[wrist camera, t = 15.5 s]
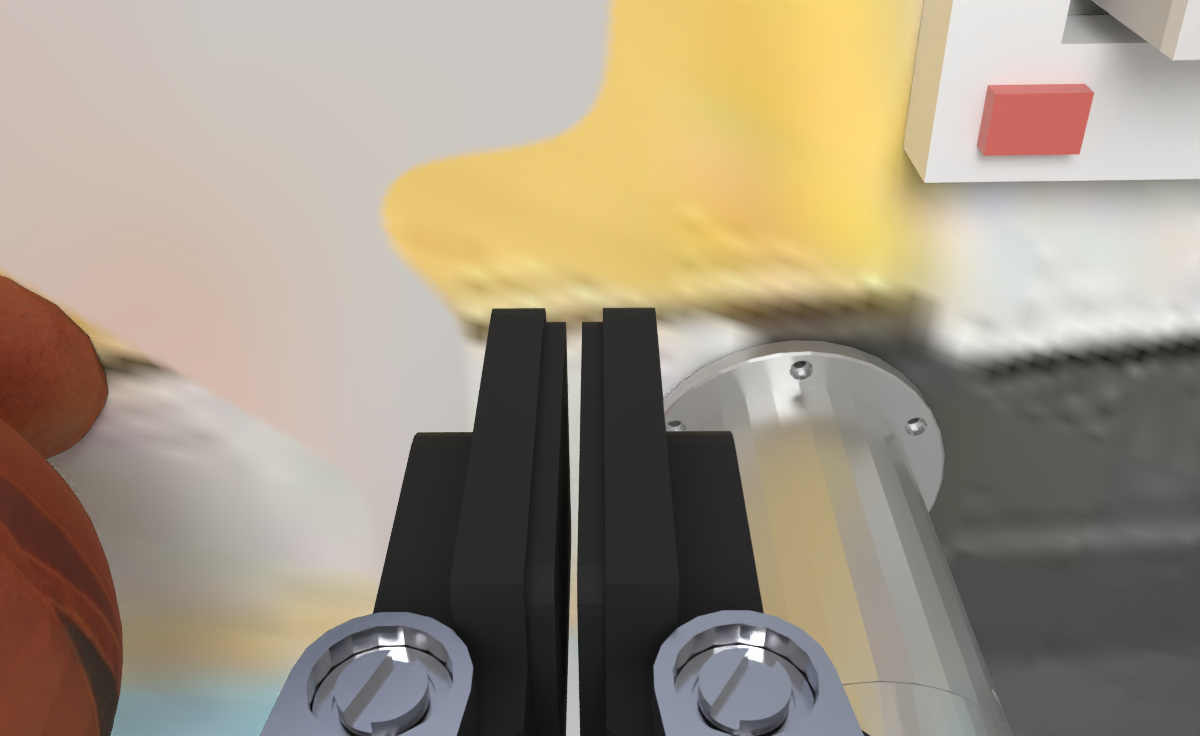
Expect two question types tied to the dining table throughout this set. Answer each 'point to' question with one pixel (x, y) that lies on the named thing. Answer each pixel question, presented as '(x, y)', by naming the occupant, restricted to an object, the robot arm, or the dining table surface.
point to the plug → (1161, 24)
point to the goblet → (51, 532)
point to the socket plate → (1046, 97)
